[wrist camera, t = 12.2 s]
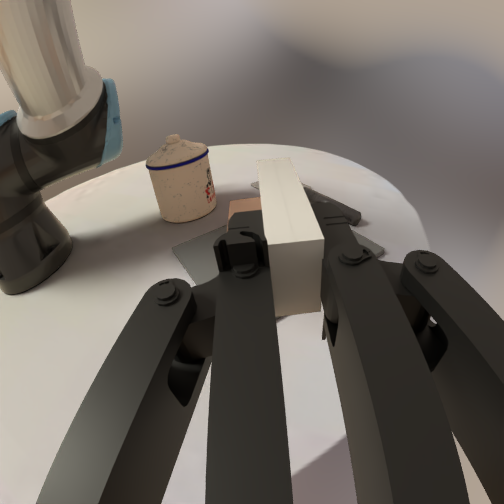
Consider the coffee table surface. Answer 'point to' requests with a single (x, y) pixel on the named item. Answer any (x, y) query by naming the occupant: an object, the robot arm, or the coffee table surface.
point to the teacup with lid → (182, 180)
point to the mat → (204, 261)
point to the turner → (315, 197)
